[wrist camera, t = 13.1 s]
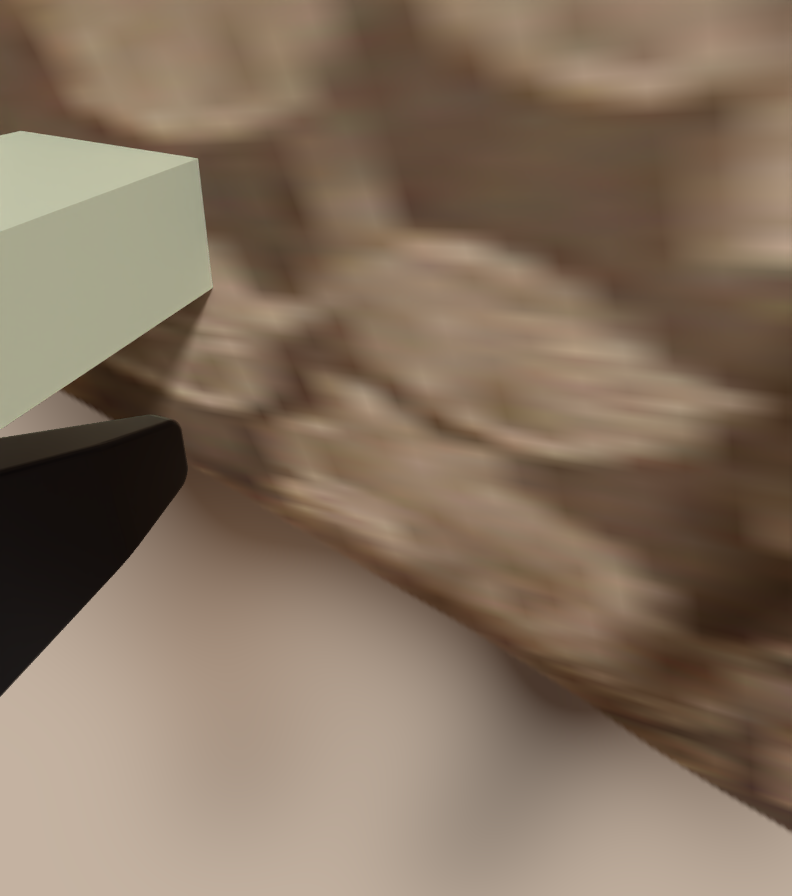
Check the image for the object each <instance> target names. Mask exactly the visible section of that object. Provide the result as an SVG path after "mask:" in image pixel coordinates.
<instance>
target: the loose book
mask: <svg viewBox="0 0 792 896" xmlns="http://www.w3.org/2000/svg"><path fill="white" fill-rule="evenodd" d="M212 288H213V285H212V276H211V268H210V259H209V250H208V242H207V233H206V224H205V216H204V207H203V199H202V190H201V181H200V173H199V164H198V158H191V157H185V156H179V155H172V154H166V153H159V152H153V151H147V150H140V149H134V148H127V147H121V146H114V145H108V144H102V143H95V142H89V141H82V140H76V139H69V138H63V137H57V136H50V135H44V134H37V133H31V132H24V131H18V132H14V133H10V134H5V135H1V136H0V430H1V429H2V428H4V427H5V426H7V425H8V424H10V423H11V422H13V421H14V420H16V419H17V418H19V417H20V416H22V415H23V414H25V413H26V412H28V411H29V410H31V409H32V408H34V407H35V406H37V405H38V404H40V403H41V402H42V401H44V400H45V399H47V398H49V397H50V396H52V395H53V394H55V393H56V392H58V391H59V390H61V389H62V388H64V387H65V386H67V385H68V384H70V383H71V382H73V381H74V380H76V379H77V378H79V377H80V376H82V375H83V374H85V373H86V372H88V371H89V370H91V369H92V368H94V367H95V366H97V365H98V364H100V363H101V362H103V361H104V360H106V359H107V358H109V357H110V356H112V355H113V354H115V353H116V352H118V351H119V350H120V349H122V348H123V347H125V346H126V345H128V344H129V343H131V342H132V341H134V340H135V339H137V338H138V337H140V336H141V335H143V334H144V333H146V332H147V331H149V330H150V329H152V328H153V327H155V326H156V325H158V324H159V323H161V322H162V321H164V320H165V319H167V318H168V317H170V316H171V315H173V314H174V313H176V312H177V311H179V310H180V309H182V308H183V307H185V306H186V305H188V304H189V303H191V302H192V301H194V300H195V299H197V298H198V297H200V296H201V295H203V294H204V293H206V292H207V291H209V290H210V289H212Z"/></svg>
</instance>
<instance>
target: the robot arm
mask: <svg viewBox="0 0 792 896" xmlns="http://www.w3.org/2000/svg"><path fill="white" fill-rule="evenodd" d="M187 471H188V465H187V459H186V453H185V447H184V441H183V435H182V430H181V427H180V425H179V423H178V422H176V421H175V420H172V419H169V418H165V417H161V416H157V415H144V416H137V417H131V418H125V419H118V420H112V421H106V422H99V423H92V424H86V425H81V426H73V427H67V428H60V429H54V430H47V431H41V432H35V433H28V434H22V435H16V436H9V437H2V438H0V696H1V695H2V694H3V693H4V692H5V691H6V690H7V689H8V688H9V687H10V686H11V685H12V684H13V683H14V681H15V680H16V679H17V678H18V677H19V676H20V675H21V674H22V673H23V672H24V671H25V670H26V669H27V667H28V666H29V665H30V664H31V663H32V662H33V661H34V660H35V659H36V658H37V657H38V656H39V655H40V653H41V652H42V651H43V650H44V649H45V648H46V647H47V646H48V645H49V644H50V643H51V641H52V640H53V639H54V638H55V637H56V636H57V635H58V634H59V633H60V632H61V631H62V630H63V629H64V628H65V627H66V625H67V624H68V623H69V622H70V621H71V620H72V619H73V618H74V617H75V616H76V615H77V614H78V613H79V611H80V610H81V609H82V608H83V607H84V606H85V605H86V604H87V603H88V602H89V601H90V600H91V598H92V597H93V596H94V595H95V594H96V593H97V592H98V591H99V590H100V589H101V588H102V587H103V585H104V584H105V583H106V582H107V581H108V580H109V579H110V578H111V577H112V576H113V575H114V574H115V573H116V572H117V570H118V569H119V568H120V567H121V566H122V565H123V563H125V561H126V560H127V559H128V558H129V557H130V555H131V554H132V553H133V552H134V550H135V549H136V548H137V547H138V545H139V544H140V543H141V541H142V540H143V539H144V537H145V536H146V535H147V533H148V532H149V531H150V529H151V528H152V526H153V525H154V524H155V523H156V521H157V520H158V519H159V517H160V516H161V514H162V513H163V512H164V510H165V509H166V508H167V506H168V505H169V503H170V502H171V501H172V500H173V498H174V497H175V496H176V494H177V493H178V491H179V490H180V488H181V487H182V486H183V484H184V482H185V479H186V476H187Z"/></svg>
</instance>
